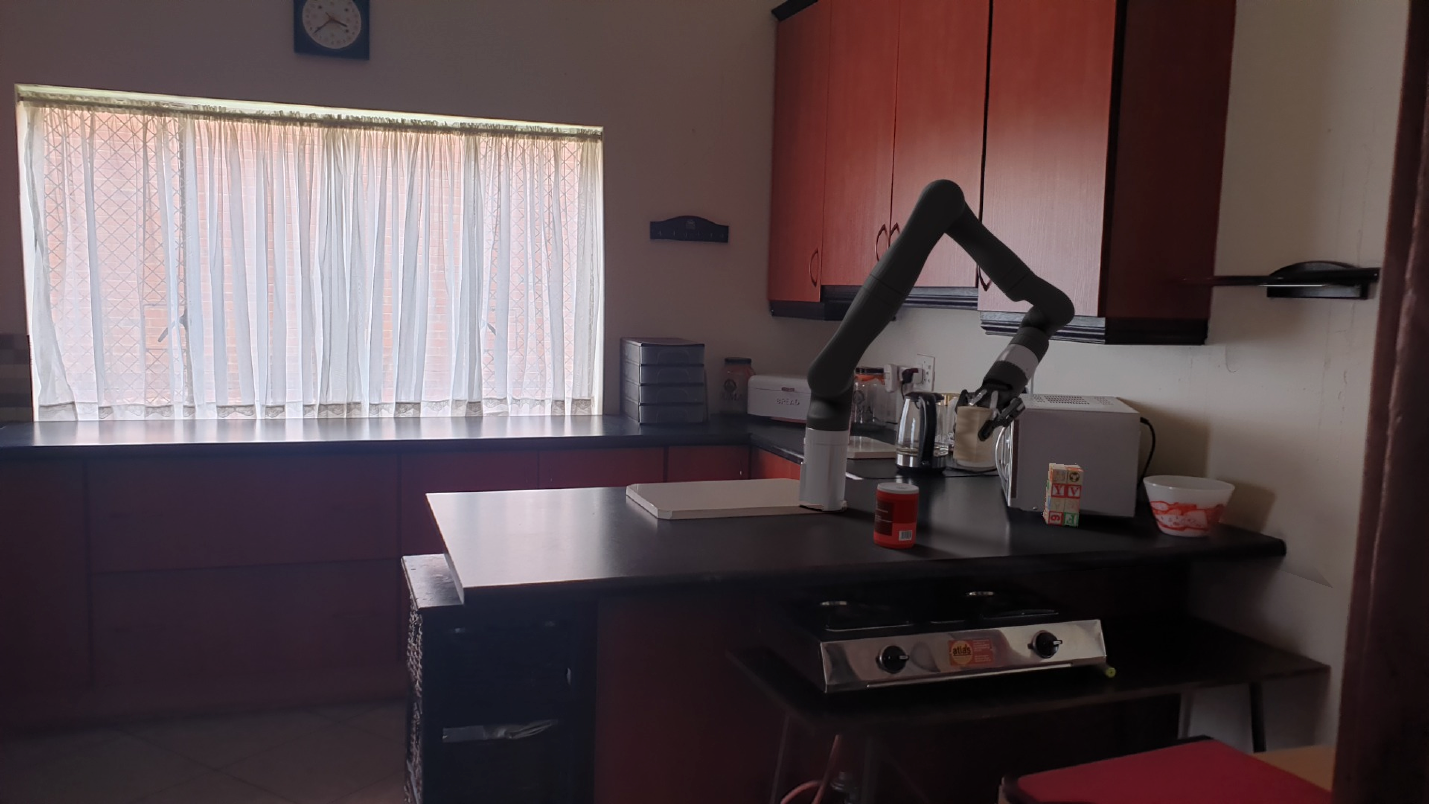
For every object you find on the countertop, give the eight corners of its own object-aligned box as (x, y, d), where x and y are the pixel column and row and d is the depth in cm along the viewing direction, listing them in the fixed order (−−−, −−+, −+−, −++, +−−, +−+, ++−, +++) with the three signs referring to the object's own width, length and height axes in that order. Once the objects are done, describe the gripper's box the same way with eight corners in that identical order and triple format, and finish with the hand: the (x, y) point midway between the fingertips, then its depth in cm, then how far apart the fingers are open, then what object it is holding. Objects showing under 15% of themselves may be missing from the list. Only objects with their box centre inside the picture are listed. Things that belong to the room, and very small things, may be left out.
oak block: (952, 458, 191) (957, 406, 189) (968, 456, 194) (973, 405, 193) (974, 462, 187) (979, 410, 186) (990, 461, 190) (995, 409, 189)
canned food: (919, 542, 189) (923, 485, 187) (908, 551, 181) (913, 492, 180) (879, 536, 192) (884, 480, 191) (868, 545, 185) (872, 487, 183)
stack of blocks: (1034, 504, 232) (1039, 452, 231) (1062, 507, 231) (1067, 454, 230) (1047, 524, 211) (1052, 467, 210) (1078, 527, 210) (1083, 470, 209)
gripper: (973, 355, 198) (930, 417, 192) (1037, 363, 187) (993, 428, 181) (986, 381, 202) (944, 443, 196) (1049, 390, 191) (1007, 455, 185)
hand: (968, 435), depth 189 cm, fingers closed on oak block, 5 cm apart
